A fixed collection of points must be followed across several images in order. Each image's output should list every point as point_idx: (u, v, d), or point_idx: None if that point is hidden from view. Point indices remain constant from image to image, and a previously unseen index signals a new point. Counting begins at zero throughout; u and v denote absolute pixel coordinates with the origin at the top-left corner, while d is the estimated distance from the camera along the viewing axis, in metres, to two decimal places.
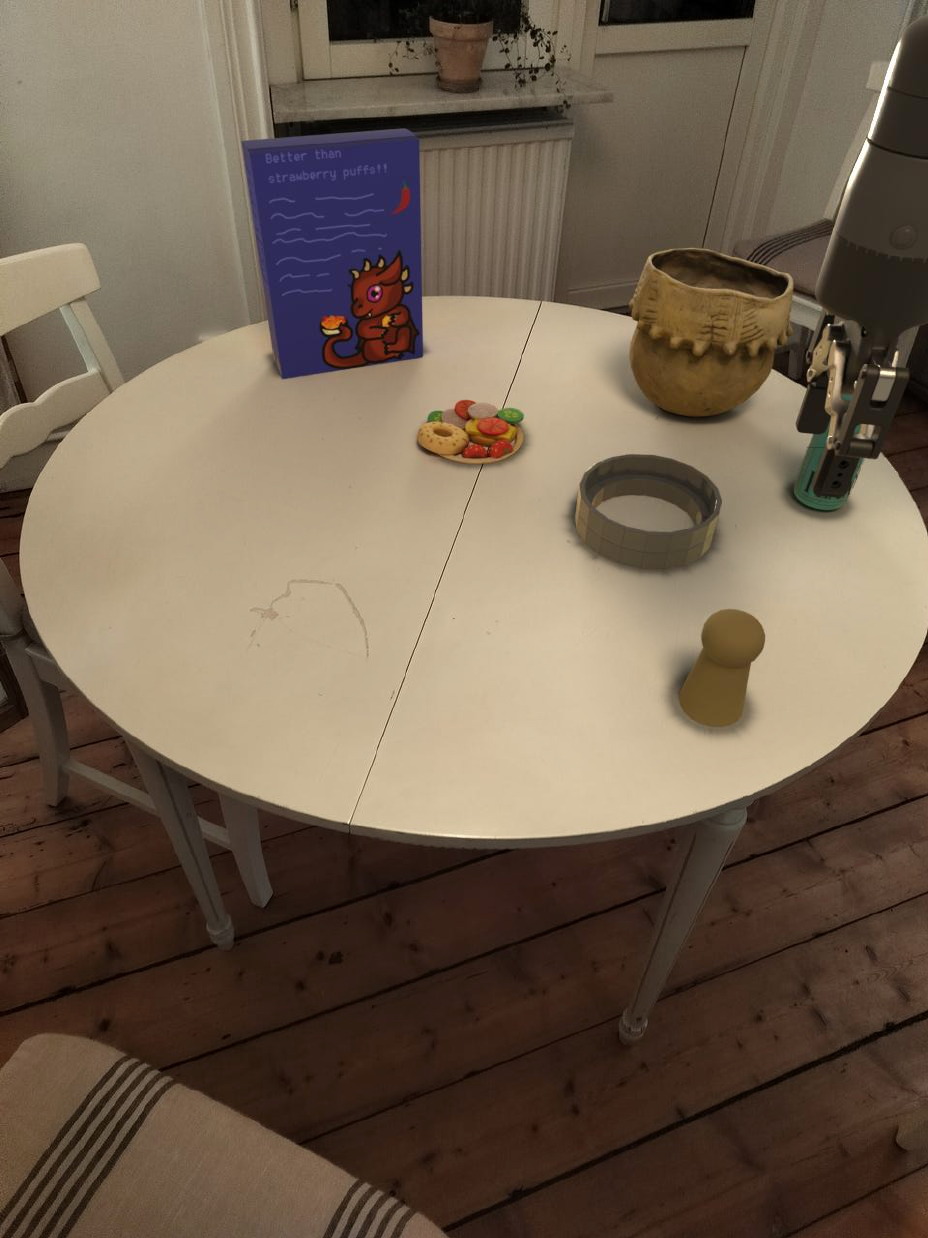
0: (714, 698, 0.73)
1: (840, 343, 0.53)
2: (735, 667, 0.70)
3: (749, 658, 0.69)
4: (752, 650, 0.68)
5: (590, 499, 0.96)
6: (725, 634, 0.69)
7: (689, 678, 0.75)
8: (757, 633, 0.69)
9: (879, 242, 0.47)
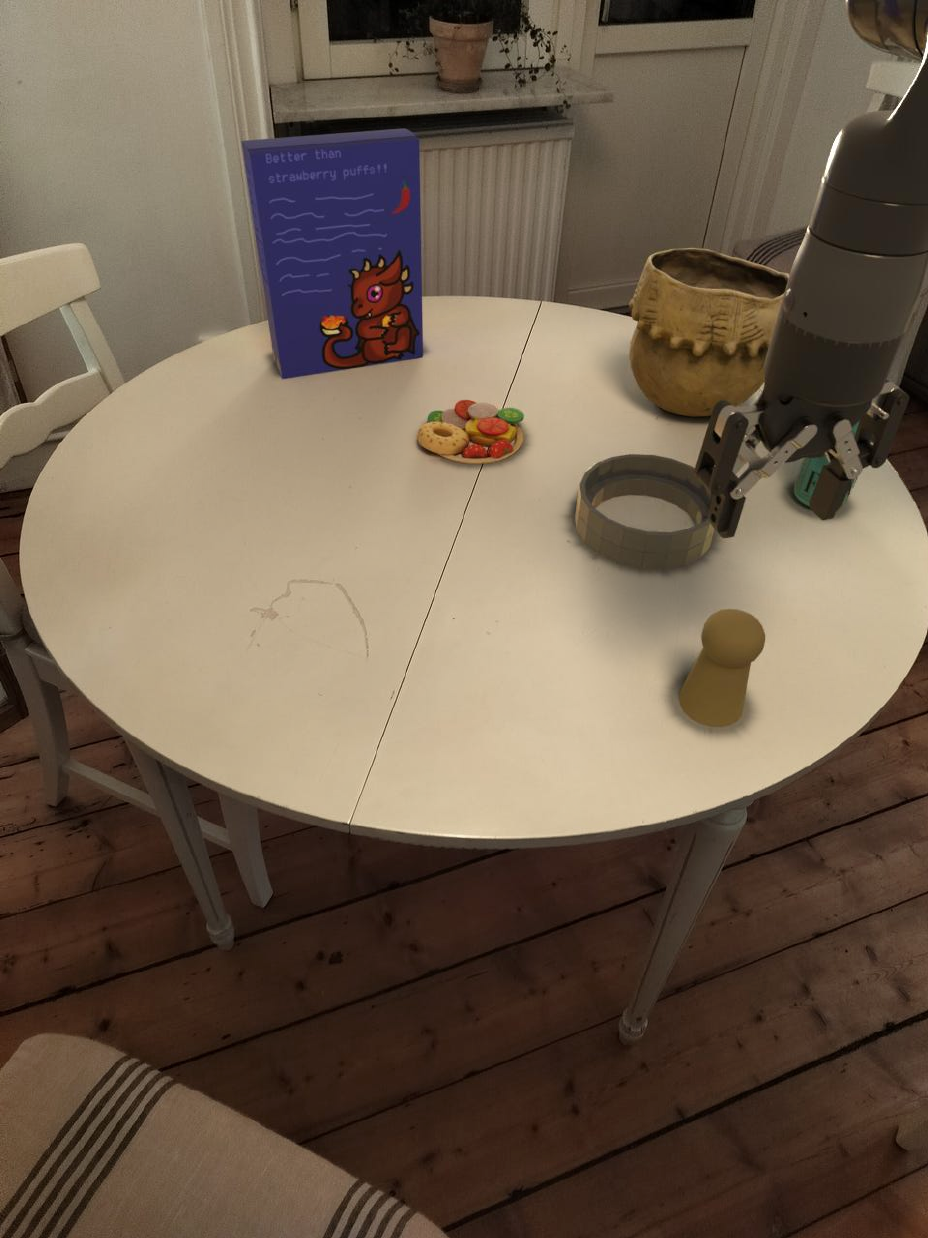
0: (714, 698, 0.73)
1: None
2: (735, 667, 0.70)
3: (749, 658, 0.69)
4: (752, 650, 0.68)
5: (590, 499, 0.96)
6: (725, 633, 0.69)
7: (689, 678, 0.75)
8: (757, 633, 0.69)
9: (782, 301, 0.52)
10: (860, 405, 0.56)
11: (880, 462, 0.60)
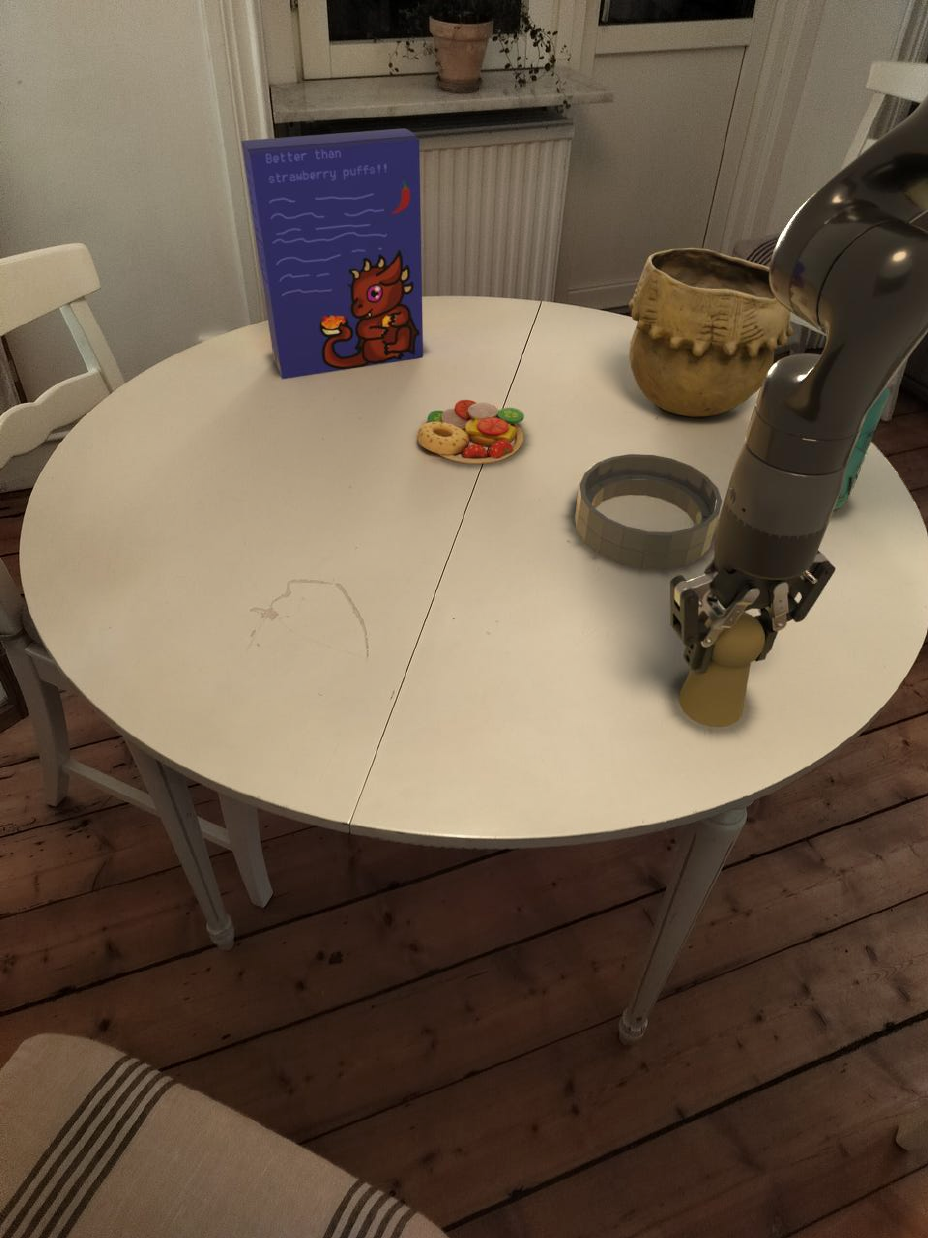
0: (714, 698, 0.73)
1: None
2: (735, 667, 0.70)
3: (749, 658, 0.69)
4: (751, 650, 0.68)
5: (590, 499, 0.96)
6: (724, 634, 0.69)
7: (689, 678, 0.75)
8: (756, 633, 0.69)
9: (727, 491, 0.61)
10: None
11: (801, 618, 0.69)
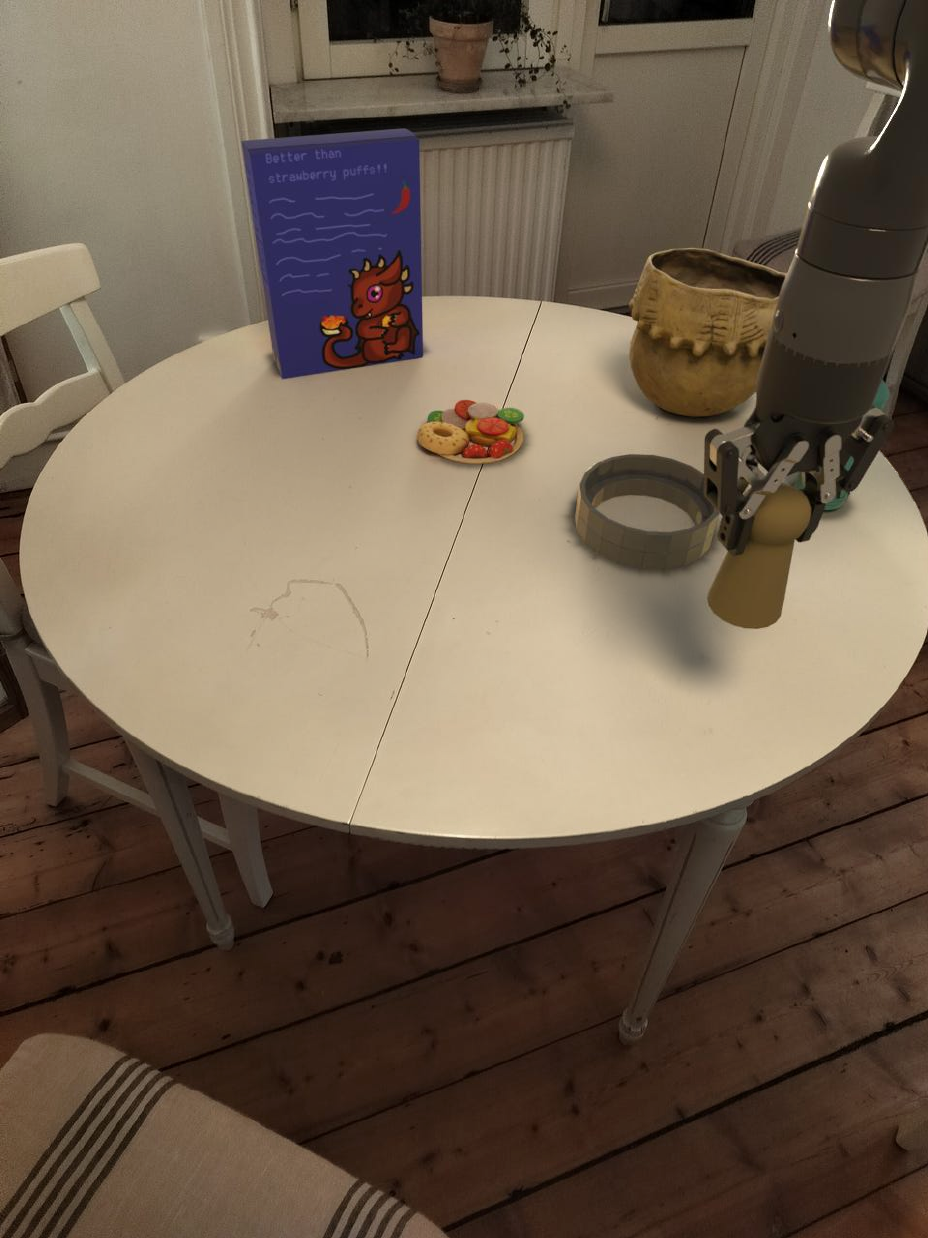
0: (752, 585, 0.64)
1: None
2: (777, 545, 0.62)
3: (793, 533, 0.60)
4: (797, 523, 0.60)
5: (590, 499, 0.96)
6: (765, 504, 0.60)
7: (722, 566, 0.66)
8: (802, 503, 0.60)
9: (772, 321, 0.53)
10: (852, 420, 0.57)
11: (853, 486, 0.61)
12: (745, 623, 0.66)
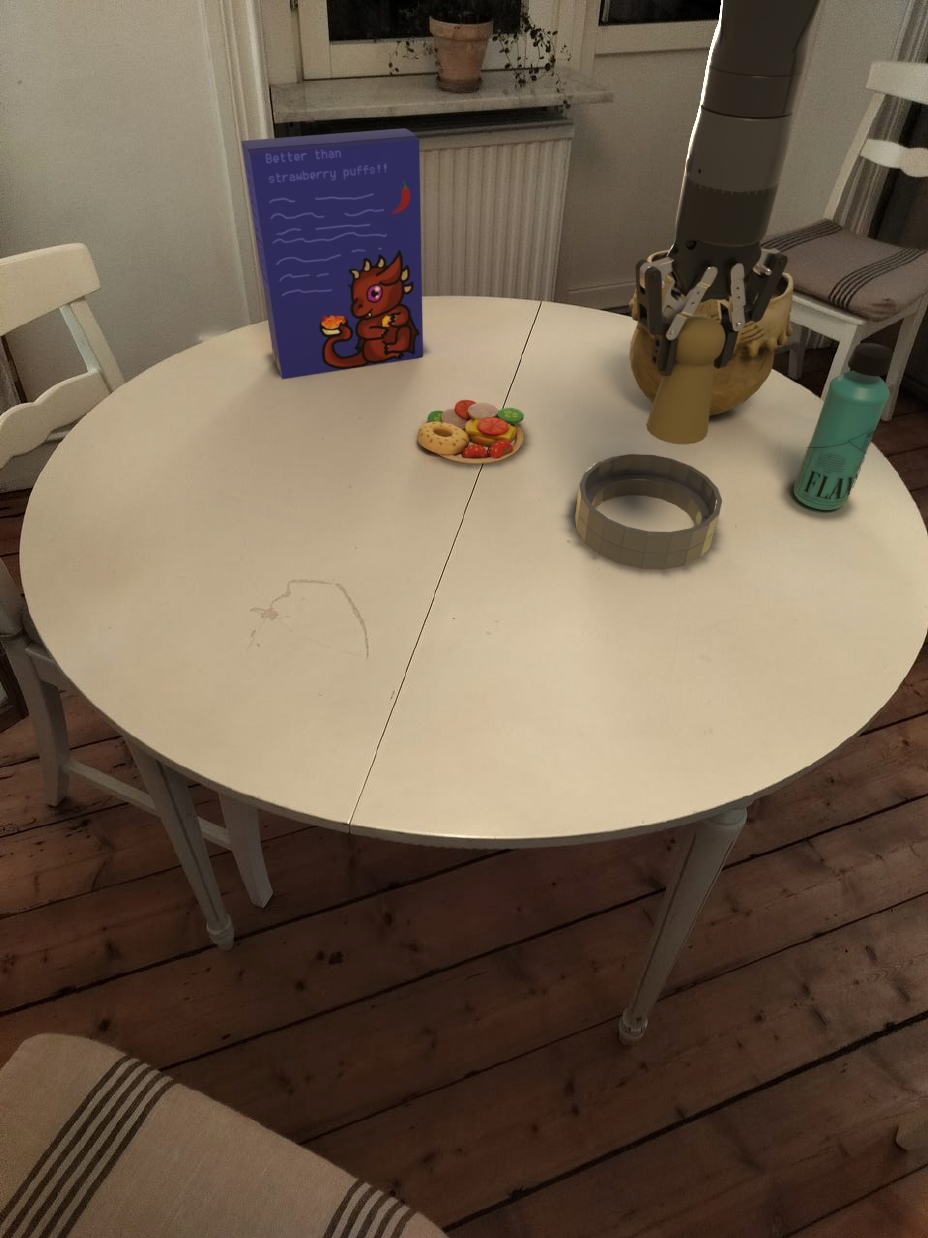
0: (680, 403, 0.78)
1: None
2: (698, 365, 0.76)
3: (710, 352, 0.75)
4: (712, 343, 0.74)
5: (590, 499, 0.96)
6: (687, 328, 0.75)
7: (657, 392, 0.81)
8: (717, 328, 0.75)
9: None
10: (753, 253, 0.71)
11: (758, 316, 0.75)
12: (675, 439, 0.81)
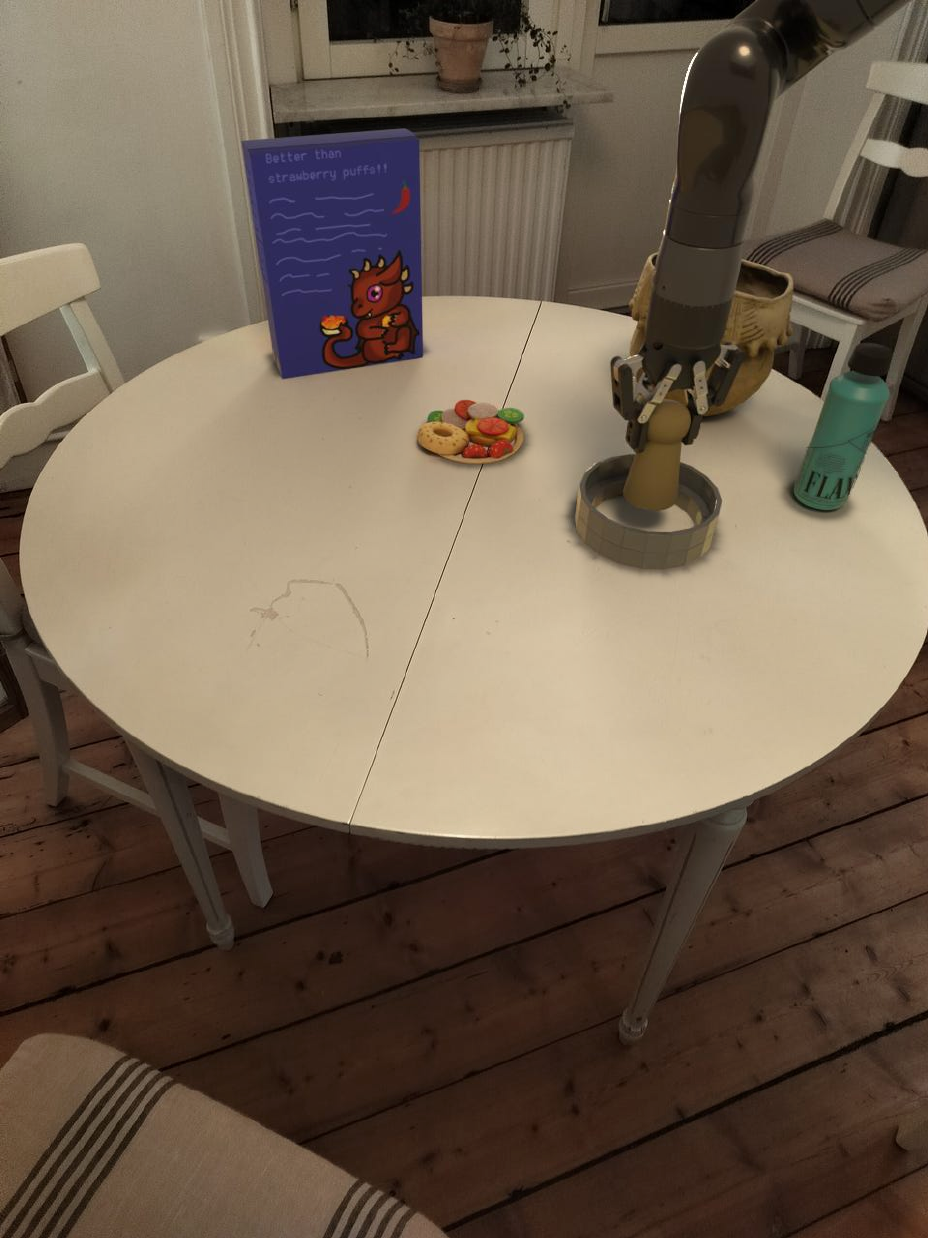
0: (651, 476, 0.88)
1: None
2: (666, 444, 0.86)
3: (677, 433, 0.85)
4: (678, 426, 0.84)
5: (590, 499, 0.96)
6: (657, 413, 0.85)
7: (632, 464, 0.91)
8: (683, 413, 0.85)
9: None
10: (713, 351, 0.81)
11: (720, 402, 0.85)
12: (648, 506, 0.90)
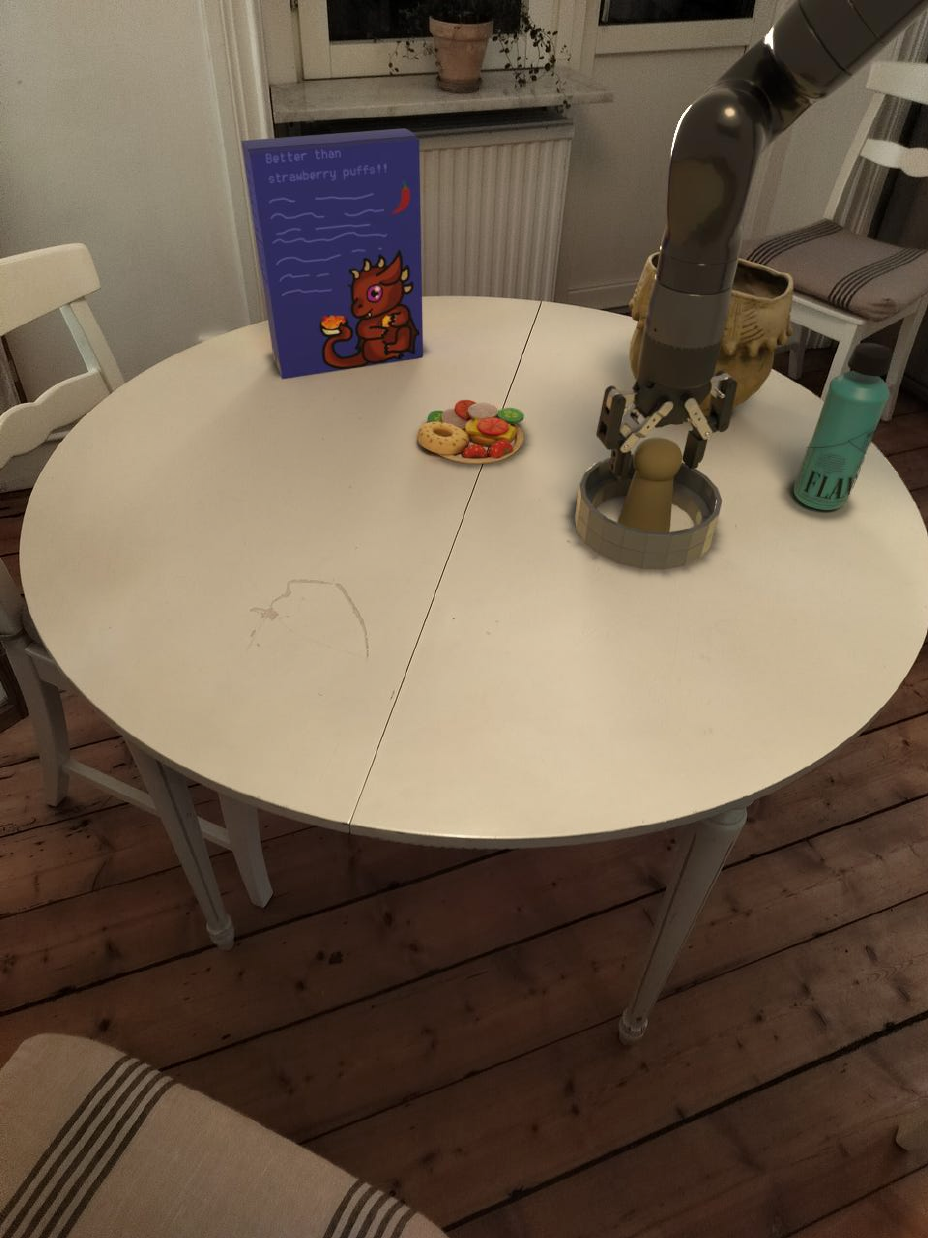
0: (644, 511, 0.92)
1: None
2: (659, 481, 0.89)
3: (669, 471, 0.88)
4: (670, 464, 0.87)
5: (590, 499, 0.96)
6: (649, 452, 0.88)
7: (626, 499, 0.94)
8: (675, 451, 0.88)
9: None
10: (703, 388, 0.84)
11: (724, 427, 0.88)
12: None
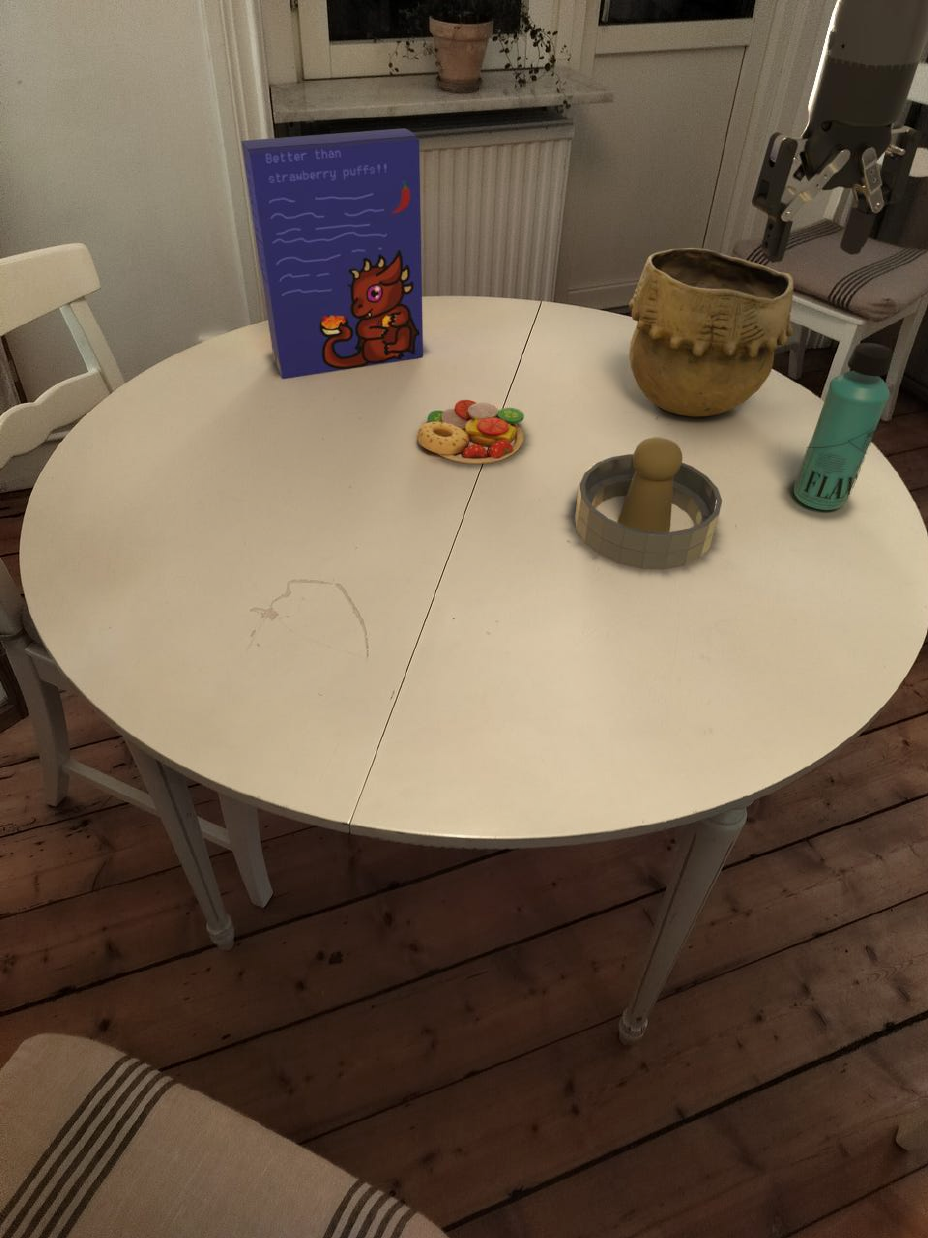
0: (644, 511, 0.92)
1: None
2: (659, 481, 0.89)
3: (669, 471, 0.88)
4: (670, 464, 0.87)
5: (590, 499, 0.96)
6: (649, 452, 0.88)
7: (626, 499, 0.94)
8: (675, 451, 0.88)
9: (824, 45, 0.68)
10: (883, 138, 0.72)
11: (897, 197, 0.76)
12: None
